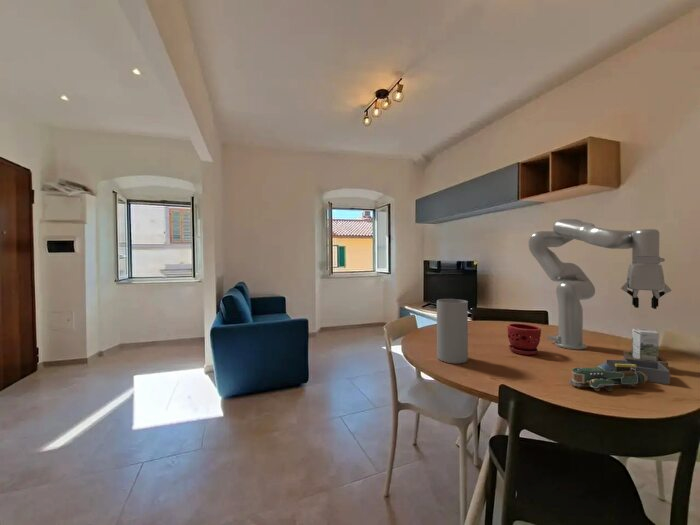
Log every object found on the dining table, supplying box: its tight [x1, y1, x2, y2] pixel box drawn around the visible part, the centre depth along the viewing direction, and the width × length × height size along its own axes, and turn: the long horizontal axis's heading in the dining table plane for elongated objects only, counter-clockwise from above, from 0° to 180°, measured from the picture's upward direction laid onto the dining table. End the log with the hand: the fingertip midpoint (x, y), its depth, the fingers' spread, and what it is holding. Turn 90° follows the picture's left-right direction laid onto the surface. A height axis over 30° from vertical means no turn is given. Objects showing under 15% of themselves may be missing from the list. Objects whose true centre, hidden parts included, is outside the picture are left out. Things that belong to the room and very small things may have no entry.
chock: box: [606, 359, 637, 372], centre depth 107 cm, size 6×5×6 cm
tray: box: [621, 357, 671, 386], centre depth 109 cm, size 10×10×4 cm
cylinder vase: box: [436, 298, 469, 365], centre depth 129 cm, size 12×12×25 cm
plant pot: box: [507, 323, 542, 356], centre depth 138 cm, size 13×13×12 cm
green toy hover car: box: [569, 361, 648, 392], centre depth 101 cm, size 10×25×8 cm, turn 90°
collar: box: [623, 350, 669, 370], centre depth 118 cm, size 10×10×4 cm
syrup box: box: [631, 328, 660, 361], centre depth 118 cm, size 6×6×14 cm
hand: (645, 307), depth 118 cm, fingers open, 4 cm apart
